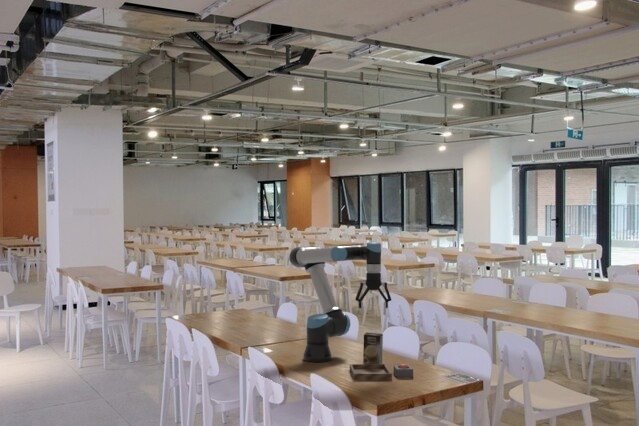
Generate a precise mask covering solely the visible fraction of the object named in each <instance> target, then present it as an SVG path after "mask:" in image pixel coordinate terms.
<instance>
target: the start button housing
mask: <svg viewBox="0 0 639 426" xmlns="http://www.w3.org/2000/svg"><path fill="white" fill-rule="evenodd" d="M407 365H408V368H399V364H393V374H394V376H395V377H396V378H399V379H401V377H402V378H404V379H405V378H409V379H410V377H413V378H414V368H413V367H412V365H410V364H407Z"/></svg>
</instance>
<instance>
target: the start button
mask: <svg viewBox="0 0 639 426" xmlns="http://www.w3.org/2000/svg"><path fill="white" fill-rule="evenodd" d="M398 365H399V368H408V365H409V364H406V363H399V364H398Z"/></svg>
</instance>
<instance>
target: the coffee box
mask: <svg viewBox="0 0 639 426" xmlns="http://www.w3.org/2000/svg"><path fill="white" fill-rule="evenodd" d="M383 339H384V334H383V333H376V332H365V333H364V334H363V353H362V354H363V355H362V356H363V358H362V359H363V361H362V364H383V344H384V341H383Z"/></svg>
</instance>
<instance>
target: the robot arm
mask: <svg viewBox="0 0 639 426" xmlns="http://www.w3.org/2000/svg"><path fill="white" fill-rule="evenodd" d="M288 258H289V262H290V264H291V265H293V266H294V267H296V268H304V269H305V271H306V274H309V275H310V278H311V281H312V284H313V286H314V287H313V288H314V290H315V292H316V295H317V298H318V301H319V304H320V306H321V310H322V313H316V314H312V315H310V316H308V317H307V319H306V346H305V348H304V352H303V355H302V356H303V361H305V362H311V363H327V362H330V361H332V359H333V358H332V353H331V349H330V345H329V339H330V338H335V337H341V336H344V335H347V333H348V332H349V330H350V329H351V318H350V317H349V316H348V315H347V314H346V313H343V309H342V308H340V307H339V306H338V304H337V302H336V301H337V300H336V299H335V296H334V293H333V289H332V288H331V285H330V282H329V280H328V277H327V274H326V272H325V267H326V262H327V263H329V262H343V261H360V260H362V261H366V262H365V263H366V267H365V268H366V270H365V271H366V274H365V280H366V281H365V282H364V281H363V282H362V281H360V282H359V288H358V290H357V293H356V296H355V298H354V299H355V301H356V302H358V308H359V309H360V315H361V316H363V315H364V301H363V300H364V299H365V297H366V295H367V294H368V293H369V292H370V291H378V293H379V294H380V296H381V297H382V299H383V300H384V301H383V315H384V316H386V315H387V313H386V312H387V309H388V308H389V302H392V297H391V295H390V292H389V289H388V283H387V282H386V281H385V282H382V273H381V272H382V262H381V261H382V244H381V243H380V242H372V241H371V242H366V245H358V244H353V245H337V246H329V247H320V246H314V245H312V246H297V247H294V248H292V250H290V253H289V255H288ZM365 286H366V288H365V291H364V292H363V293H362V290H363V288H364V287H365ZM381 286H382V287H383V288H384V290H385V293H386V295H385V293H384V292H383V291H382V289H381ZM386 296H387V297H386Z"/></svg>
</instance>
